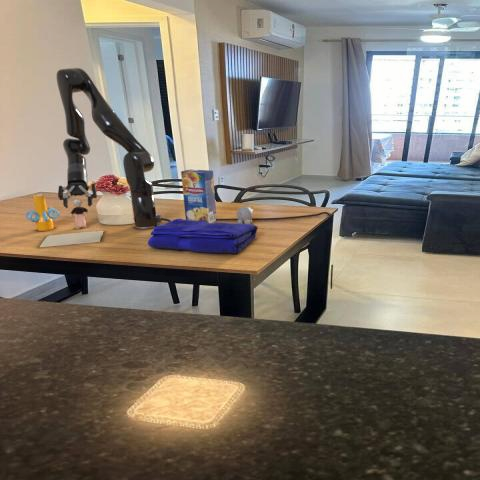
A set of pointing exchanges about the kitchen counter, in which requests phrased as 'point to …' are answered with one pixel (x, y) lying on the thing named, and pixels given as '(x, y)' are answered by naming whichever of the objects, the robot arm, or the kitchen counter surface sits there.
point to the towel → (202, 236)
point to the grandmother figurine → (79, 214)
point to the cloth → (72, 238)
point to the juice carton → (199, 195)
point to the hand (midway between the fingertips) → (78, 206)
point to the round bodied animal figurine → (245, 215)
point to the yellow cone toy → (42, 214)
